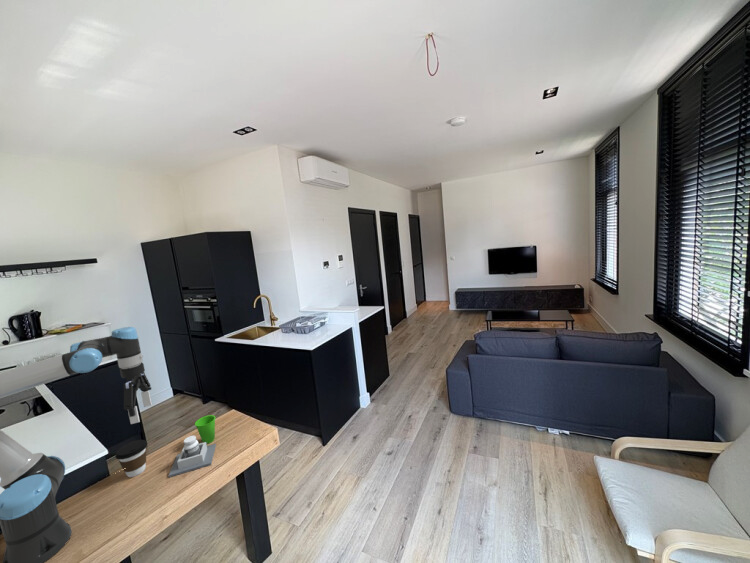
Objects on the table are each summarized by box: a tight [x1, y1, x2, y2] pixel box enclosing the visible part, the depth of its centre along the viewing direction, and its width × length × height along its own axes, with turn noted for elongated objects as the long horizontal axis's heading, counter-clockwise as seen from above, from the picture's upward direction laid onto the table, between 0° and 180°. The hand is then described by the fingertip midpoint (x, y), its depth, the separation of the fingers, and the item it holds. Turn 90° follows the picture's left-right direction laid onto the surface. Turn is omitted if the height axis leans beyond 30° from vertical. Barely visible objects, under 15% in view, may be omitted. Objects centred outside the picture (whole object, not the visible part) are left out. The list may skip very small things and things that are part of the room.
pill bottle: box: [183, 435, 200, 458], centre depth 134 cm, size 6×6×10 cm
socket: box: [168, 442, 217, 478], centre depth 135 cm, size 16×14×4 cm
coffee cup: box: [114, 439, 148, 478], centre depth 131 cm, size 11×11×12 cm
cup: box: [194, 414, 217, 444], centre depth 148 cm, size 9×9×11 cm
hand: (142, 413), depth 124 cm, fingers open, 13 cm apart
